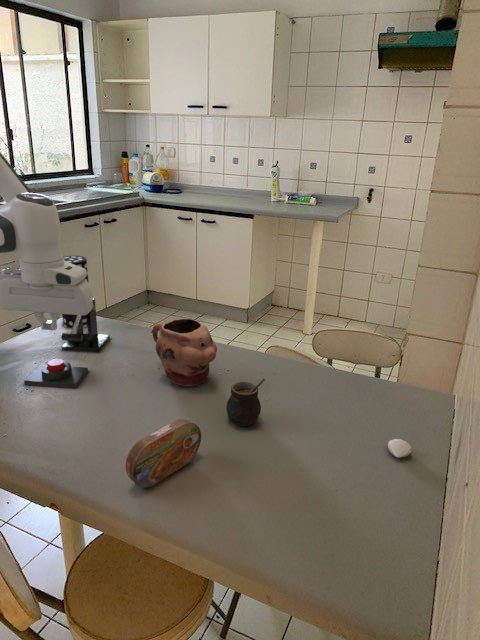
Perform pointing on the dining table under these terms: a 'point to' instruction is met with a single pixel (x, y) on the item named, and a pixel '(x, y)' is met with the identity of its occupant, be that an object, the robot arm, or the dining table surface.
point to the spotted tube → (82, 263)
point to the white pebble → (399, 448)
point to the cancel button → (55, 365)
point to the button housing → (57, 376)
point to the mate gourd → (244, 403)
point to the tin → (163, 452)
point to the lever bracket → (87, 335)
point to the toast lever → (74, 331)
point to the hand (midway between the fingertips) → (49, 329)
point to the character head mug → (184, 350)
